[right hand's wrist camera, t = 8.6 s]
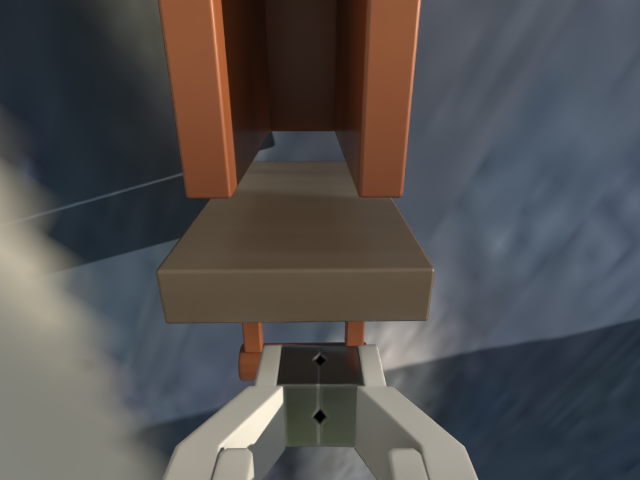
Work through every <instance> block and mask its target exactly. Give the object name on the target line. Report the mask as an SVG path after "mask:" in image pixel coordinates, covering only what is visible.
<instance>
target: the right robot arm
mask: <svg viewBox="0 0 640 480" xmlns="http://www.w3.org/2000/svg"><path fill="white" fill-rule="evenodd" d="M306 446H333V447H355V450H356V451H357V453H358V454H359V456H360V457H361V458H362V460H363V461H364V462H365V464H366V465H367V467H368V468H369V469H370V471H371V472H372V474H373V475H374V476H375V478H376V479H377V480H478V478H477V475H476V473H475V471H474V468H473V466H472V463H471V461H470V458H469V456H468V453H467V451H466V449H465V447H464V446H463V445H462V444H461V443H460V442H458V441H457V440H456V439H455V438H454V437H452V436H451V435H450V434H449V433H448V432H446V431H445V430H444V429H443V428H442V427H440V426H439V425H438V424H437V423H436V422H434V421H433V420H432V419H431V418H430V417H428V416H427V415H426V414H425V413H424V412H422V411H421V410H420V409H419V408H418V407H416V406H415V405H414V404H413V403H412V402H410V401H409V400H408V399H407V398H406V397H405V396H403V395H402V394H401V393H400V392H399V391H397V390H396V389H395V388H394V387H393V386H386V382H385V377H384V373H383V369H382V365H381V360H380V356H379V352H378V347H377V346H376V345H357V346H316V345H264V346H263V348H262V351H261V356H260V360H259V364H258V369H257V373H256V377H255V382H254V386H247V387H246V388H245V389H244V390H243V391H241V392H240V393H239V394H238V395H237V396H235V397H234V398H233V399H232V400H231V401H229V402H228V403H227V404H226V405H225V406H223V407H222V408H221V409H220V410H219V411H217V412H216V413H215V414H214V415H213V416H211V417H210V418H209V419H208V420H207V421H205V422H204V423H203V424H202V425H201V426H199V427H198V428H197V429H196V430H195V431H193V432H192V433H191V434H190V435H189V436H187V437H186V438H185V439H184V440H183V441H181V442H180V443H179V444H178V445H177V446H176V447H175V449H174V452H173V454H172V456H171V459H170V461H169V464H168V466H167V468H166V471H165V473H164V476H163V478H162V480H264V478H265V477H266V475H267V474H268V473H269V471H270V470H271V468H272V467H273V466H274V464H275V463H276V462H277V460H278V459H279V457H280V456H281V455H282V453H283V452H284V450H285V447H306Z"/></svg>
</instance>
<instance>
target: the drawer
mask: <svg viewBox="0 0 640 480" xmlns="http://www.w3.org/2000/svg"><path fill="white" fill-rule="evenodd" d="M158 4H159V11H160V18H161V25H162V32H163V39H164V46H165V53H166V60H167V67H168V74H169V81H170V88H171V95H172V102H173V109H174V116H175V123H176V130H177V137H178V144H179V151H180V158H181V165H182V172H183V179H184V186H185V193H186V196H187V198H190V199H201V198H210V199H209V201H208V202H207V203H206V205H205V206H204V207H203V209H202V210H201V211H200V213H199V214H198V215H197V217H196V218H195V219H194V221H193V222H192V223H191V225H190V226H189V227H188V229H187V230H186V231H185V233H184V234H183V235H182V237H181V238H180V239H179V241H178V242H177V243H176V245H175V246H174V247H173V249H172V250H171V251H170V253H169V254H168V256H167V257H166V258H165V260H164V261H163V262H162V264H161V265H160V266H159V268H158V269H157V271H156V276H157V281H158V286H159V292H160V297H161V302H162V307H163V312H164V317H165V322H166V323H242V329H243V339H244V344H242V346H241V348H240V353H239V377H240V380H241V381H255V377H256V373H257V369H258V364H259V360H260V356H261V351H262V348H263V346H264V345H316V346H357V345H367V344H366V343H365V342H364V325H365V321H425V320H427V319H428V315H429V308H430V301H431V294H432V286H433V279H434V272H435V270H434V267H433V266H432V264H431V262H430V261H429V259H428V257H427V256H426V254H425V252H424V251H423V249H422V247H421V246H420V244H419V242H418V241H417V239H416V237H415V236H414V234H413V232H412V231H411V229H410V228H409V226H408V224H407V223H406V221H405V219H404V218H403V216H402V214H401V213H400V211H399V209H398V208H397V206H396V204H395V203H394V201H393V199H392V198H398V197H401V196H402V194H403V187H404V176H405V165H406V155H407V144H408V134H409V123H410V112H411V102H412V91H413V80H414V70H415V59H416V49H417V38H418V27H419V17H420V6H421V0H158ZM270 131H335V133H336V136H337V138H338V141H339V144H340V147H341V149H342V152H343V155H344V158H345V160H346V162H252V161H253V160H254V158H255V156H256V155H257V153H258V151H259V150H260V148H261V146H262V145H263V143H264V141H265V139H266V138H267V136H268V134H269V133H270ZM262 322H345V342H333V343H263V327H262Z"/></svg>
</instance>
